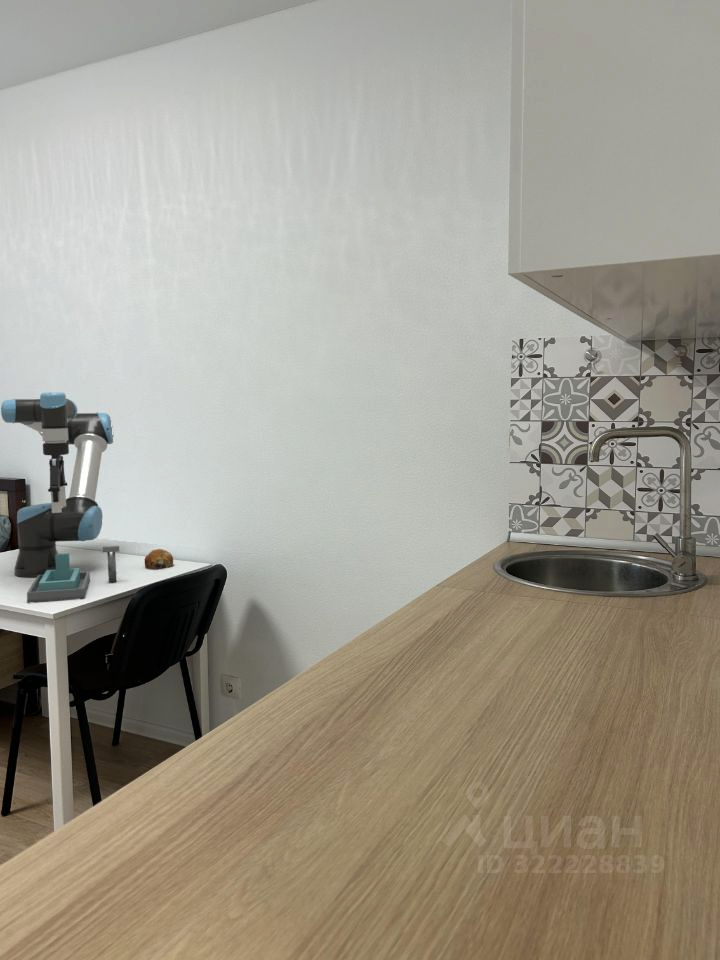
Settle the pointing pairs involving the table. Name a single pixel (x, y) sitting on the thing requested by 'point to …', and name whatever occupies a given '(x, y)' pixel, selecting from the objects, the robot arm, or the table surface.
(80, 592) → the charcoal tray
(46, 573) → the teal boxy piece
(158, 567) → the bread roll
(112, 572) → the t stake
